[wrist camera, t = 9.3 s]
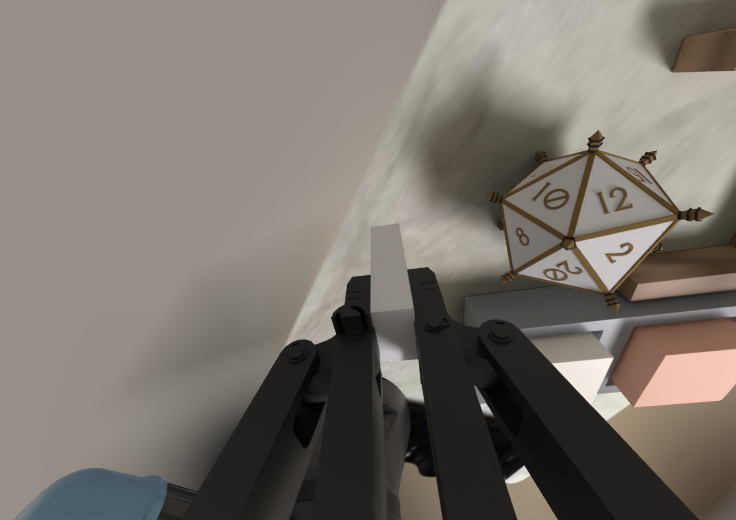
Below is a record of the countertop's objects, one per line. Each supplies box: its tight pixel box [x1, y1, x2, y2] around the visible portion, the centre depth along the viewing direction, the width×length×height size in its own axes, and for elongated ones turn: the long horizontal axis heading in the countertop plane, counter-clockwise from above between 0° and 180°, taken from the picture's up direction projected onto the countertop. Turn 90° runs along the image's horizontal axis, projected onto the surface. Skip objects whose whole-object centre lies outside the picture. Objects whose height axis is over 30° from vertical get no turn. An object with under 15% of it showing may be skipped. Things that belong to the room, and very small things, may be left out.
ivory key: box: [528, 331, 614, 405], centre depth 22 cm, size 6×6×3 cm
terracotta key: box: [609, 317, 736, 407], centre depth 21 cm, size 6×6×3 cm
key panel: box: [464, 285, 736, 404], centre depth 23 cm, size 19×9×4 cm, turn 99°
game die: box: [485, 130, 713, 312], centre depth 15 cm, size 9×8×10 cm
